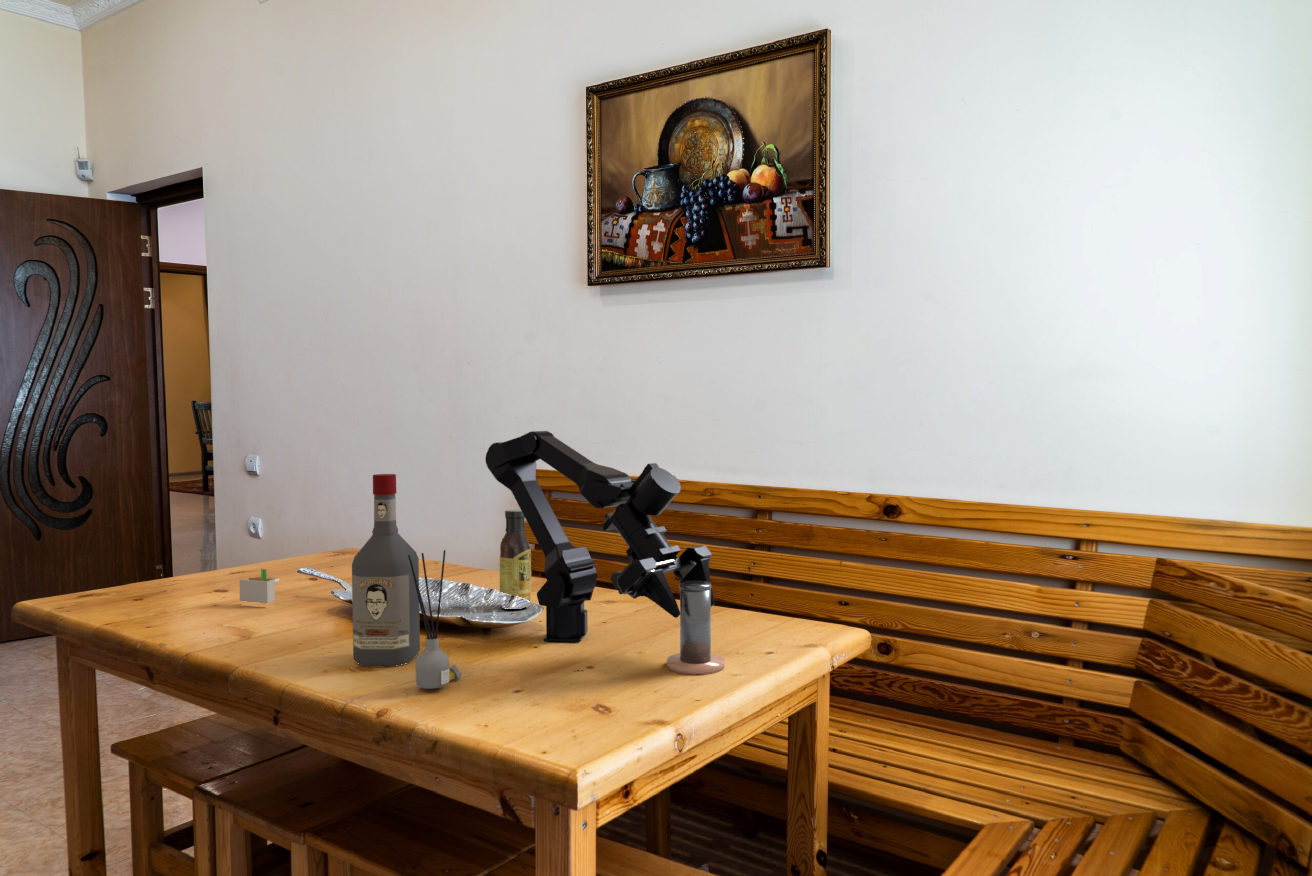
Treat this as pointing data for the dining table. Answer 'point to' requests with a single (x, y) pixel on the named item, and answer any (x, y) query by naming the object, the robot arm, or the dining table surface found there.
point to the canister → (695, 622)
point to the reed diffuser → (432, 647)
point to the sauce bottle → (515, 557)
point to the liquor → (385, 588)
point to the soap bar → (695, 665)
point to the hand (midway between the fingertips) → (695, 610)
